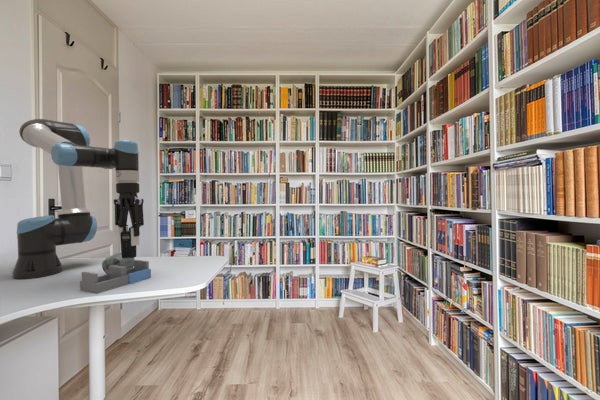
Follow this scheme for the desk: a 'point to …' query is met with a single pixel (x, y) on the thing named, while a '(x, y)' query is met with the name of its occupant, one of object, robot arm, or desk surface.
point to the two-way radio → (127, 243)
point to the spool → (117, 262)
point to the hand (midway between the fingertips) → (129, 244)
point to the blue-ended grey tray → (115, 277)
